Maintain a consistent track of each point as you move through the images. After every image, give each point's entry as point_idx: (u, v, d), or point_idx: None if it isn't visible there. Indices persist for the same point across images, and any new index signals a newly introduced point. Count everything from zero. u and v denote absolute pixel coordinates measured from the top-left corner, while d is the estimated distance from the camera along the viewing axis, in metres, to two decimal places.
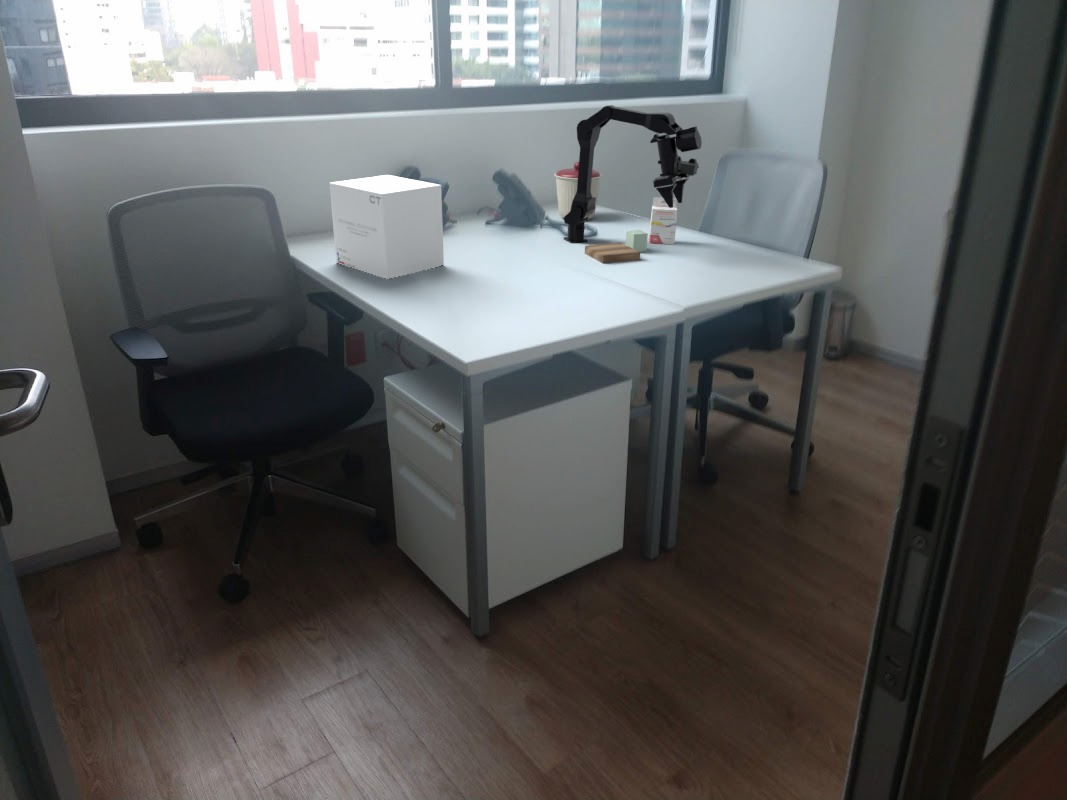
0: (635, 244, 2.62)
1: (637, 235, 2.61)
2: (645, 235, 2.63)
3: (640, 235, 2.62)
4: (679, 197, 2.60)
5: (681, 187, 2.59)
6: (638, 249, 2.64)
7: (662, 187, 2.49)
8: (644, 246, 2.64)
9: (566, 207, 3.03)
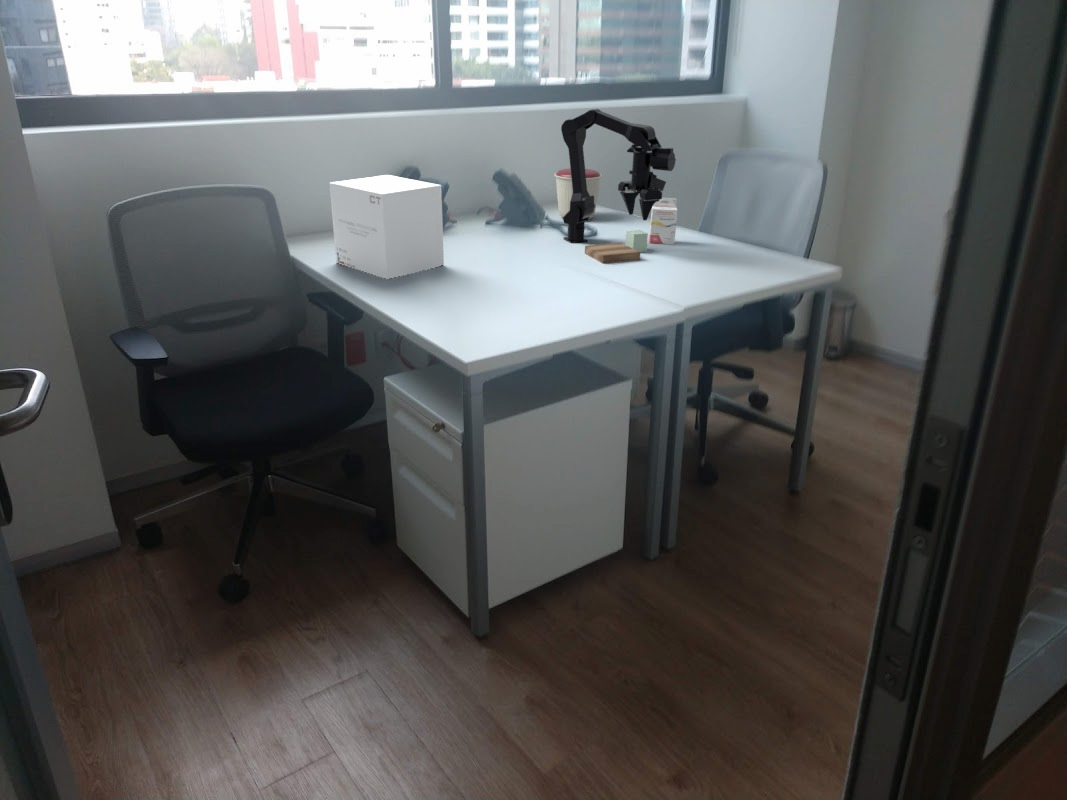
0: (635, 244, 2.62)
1: (637, 235, 2.61)
2: (645, 235, 2.63)
3: (640, 235, 2.62)
4: (632, 209, 2.65)
5: (633, 199, 2.64)
6: (638, 249, 2.64)
7: (650, 200, 2.52)
8: (644, 246, 2.64)
9: (566, 207, 3.03)
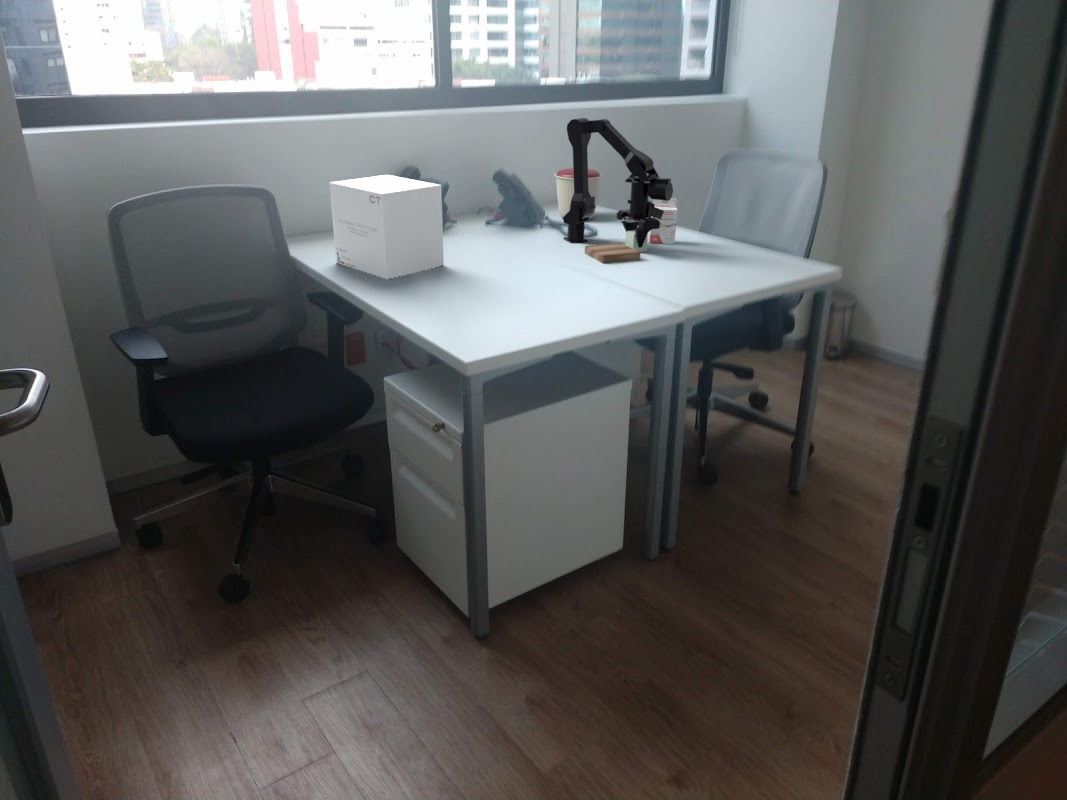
0: (635, 244, 2.62)
1: None
2: None
3: None
4: None
5: (635, 228, 2.67)
6: (638, 249, 2.64)
7: None
8: (644, 246, 2.64)
9: (566, 207, 3.03)
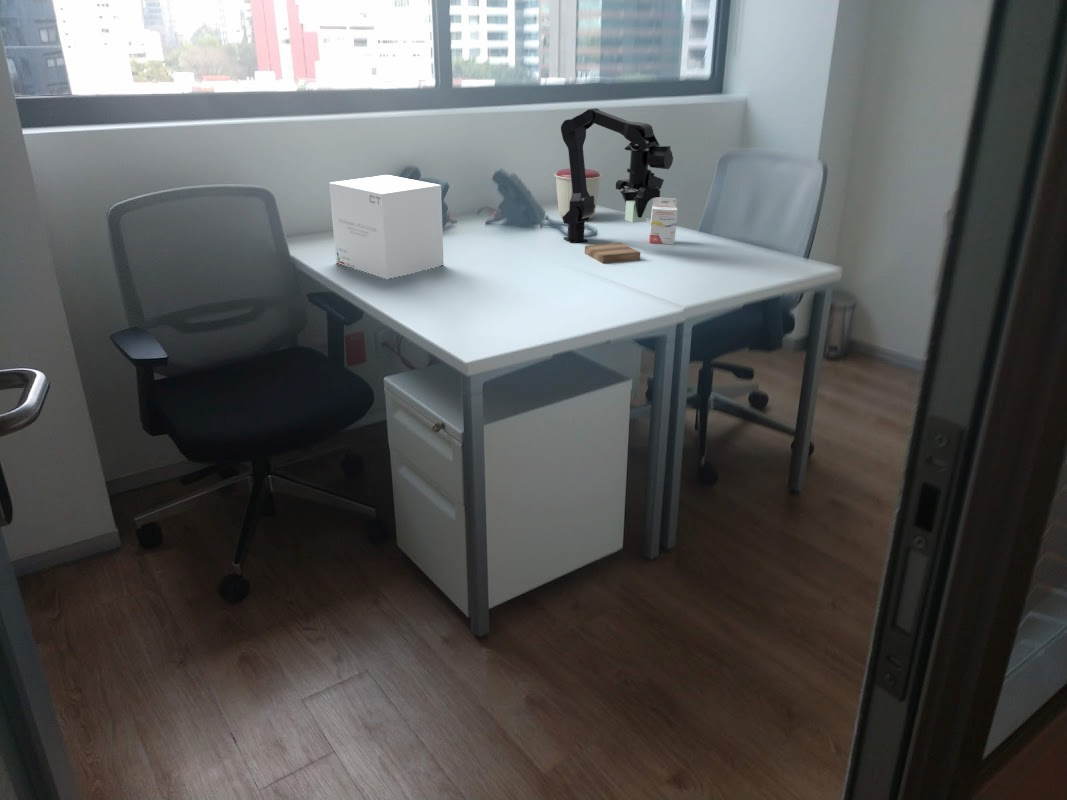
0: (634, 214, 2.57)
1: None
2: None
3: None
4: None
5: (634, 198, 2.62)
6: (638, 219, 2.59)
7: (645, 197, 2.52)
8: (644, 216, 2.59)
9: (566, 207, 3.03)
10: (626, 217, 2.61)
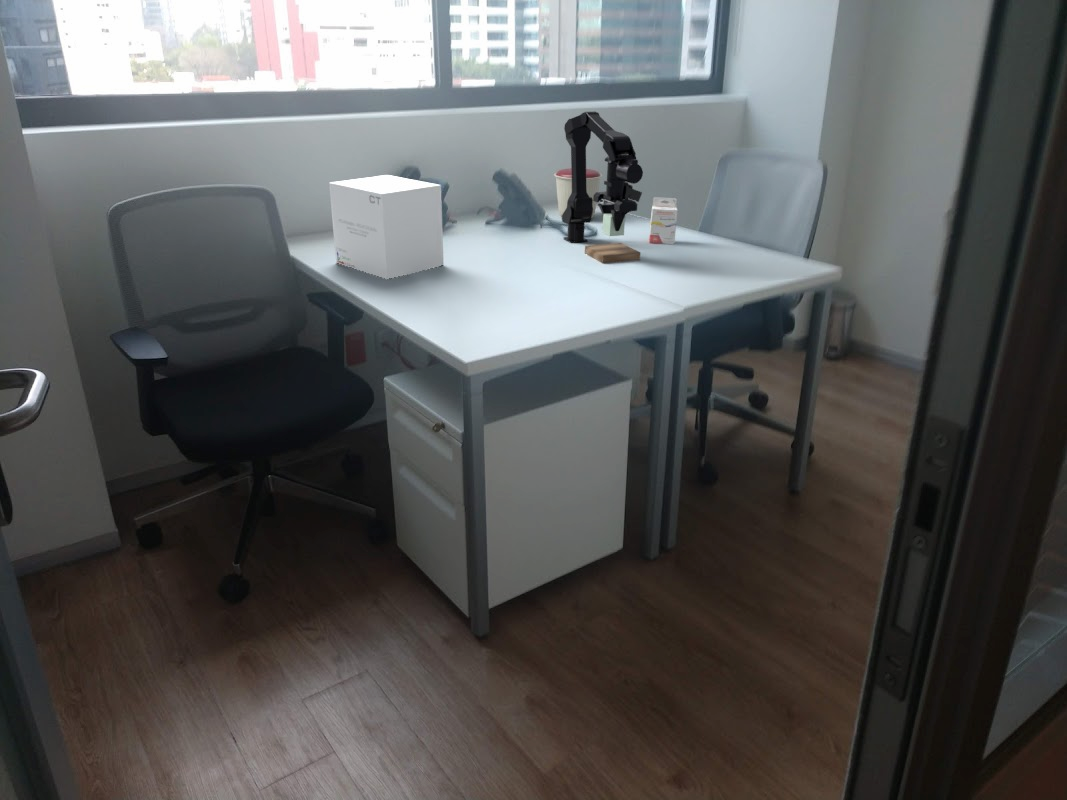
0: (611, 227, 2.51)
1: None
2: None
3: None
4: None
5: None
6: (615, 232, 2.52)
7: None
8: (621, 229, 2.53)
9: (566, 207, 3.03)
10: (603, 230, 2.55)
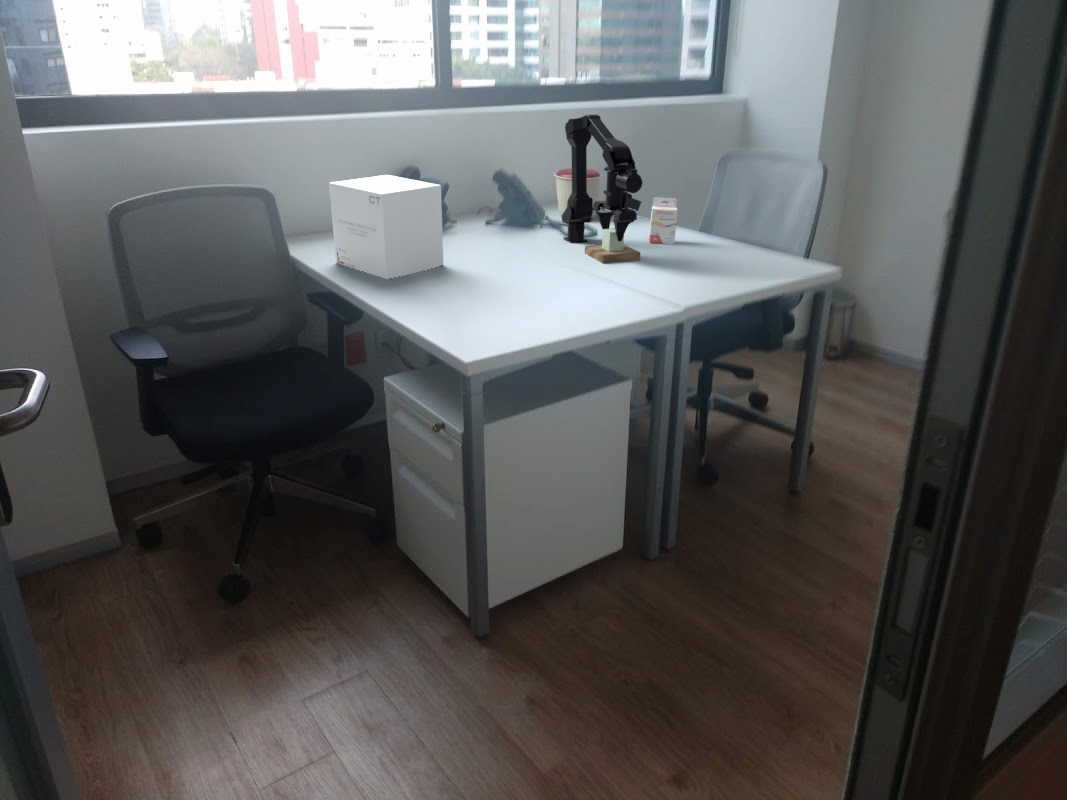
0: (611, 243, 2.53)
1: (613, 233, 2.52)
2: None
3: None
4: None
5: (609, 219, 2.58)
6: (614, 248, 2.54)
7: (624, 221, 2.46)
8: (621, 245, 2.55)
9: (566, 207, 3.03)
10: (603, 245, 2.57)
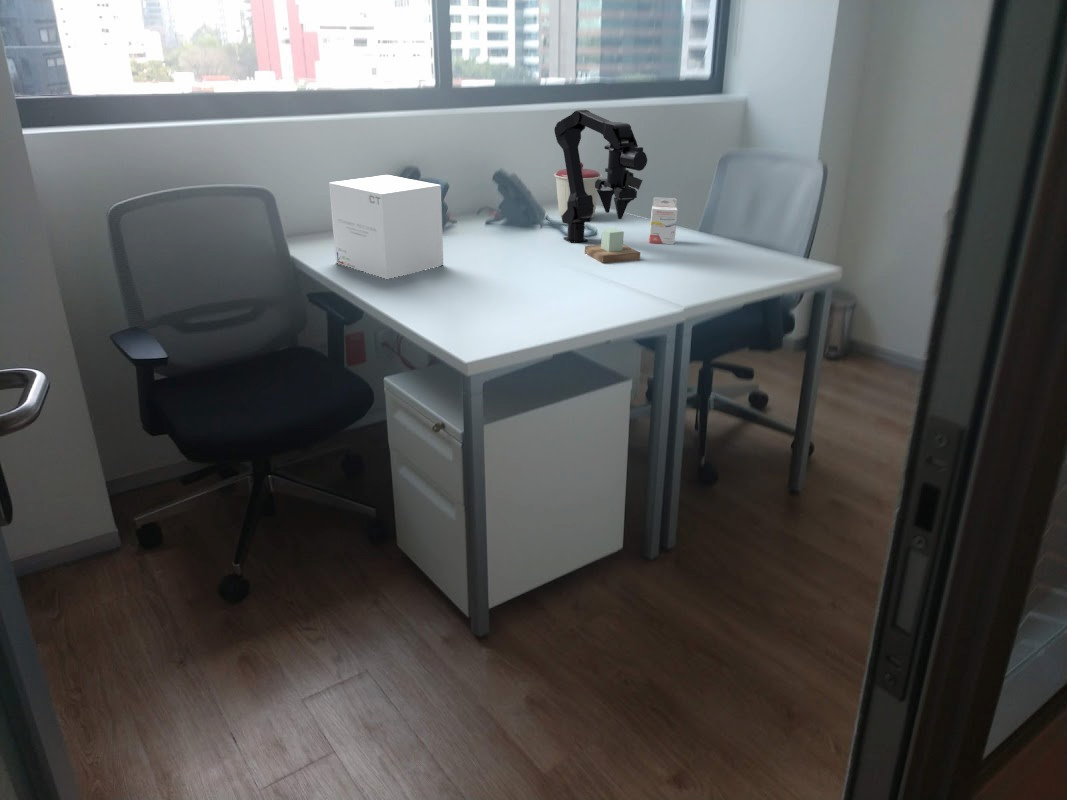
0: (610, 243, 2.53)
1: (613, 233, 2.52)
2: (621, 233, 2.53)
3: (616, 233, 2.52)
4: (608, 207, 2.62)
5: (610, 197, 2.62)
6: (614, 248, 2.54)
7: (624, 199, 2.50)
8: (620, 245, 2.55)
9: (566, 207, 3.03)
10: (602, 246, 2.57)
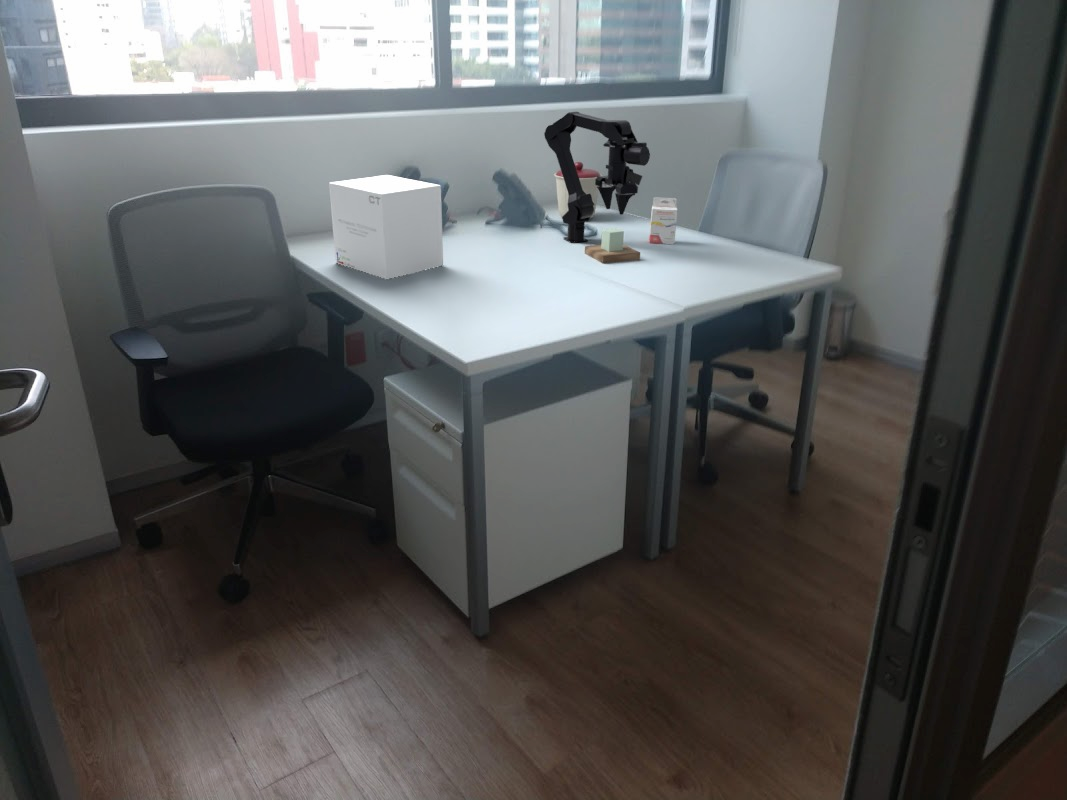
0: (611, 243, 2.53)
1: (613, 233, 2.52)
2: (621, 233, 2.53)
3: (616, 233, 2.53)
4: (609, 203, 2.66)
5: (610, 193, 2.66)
6: (614, 248, 2.54)
7: (625, 194, 2.54)
8: (620, 244, 2.55)
9: (566, 207, 3.03)
10: (602, 246, 2.57)
